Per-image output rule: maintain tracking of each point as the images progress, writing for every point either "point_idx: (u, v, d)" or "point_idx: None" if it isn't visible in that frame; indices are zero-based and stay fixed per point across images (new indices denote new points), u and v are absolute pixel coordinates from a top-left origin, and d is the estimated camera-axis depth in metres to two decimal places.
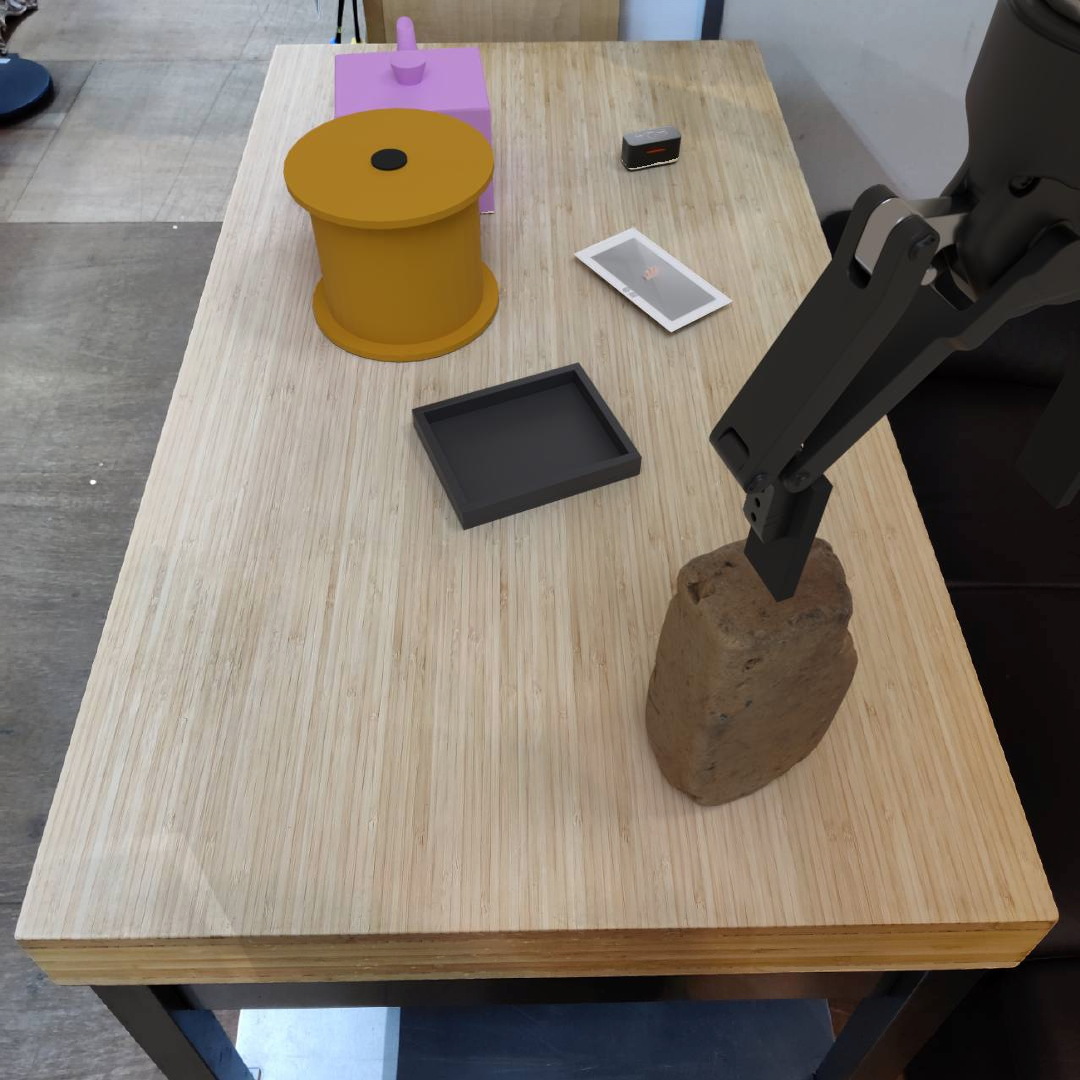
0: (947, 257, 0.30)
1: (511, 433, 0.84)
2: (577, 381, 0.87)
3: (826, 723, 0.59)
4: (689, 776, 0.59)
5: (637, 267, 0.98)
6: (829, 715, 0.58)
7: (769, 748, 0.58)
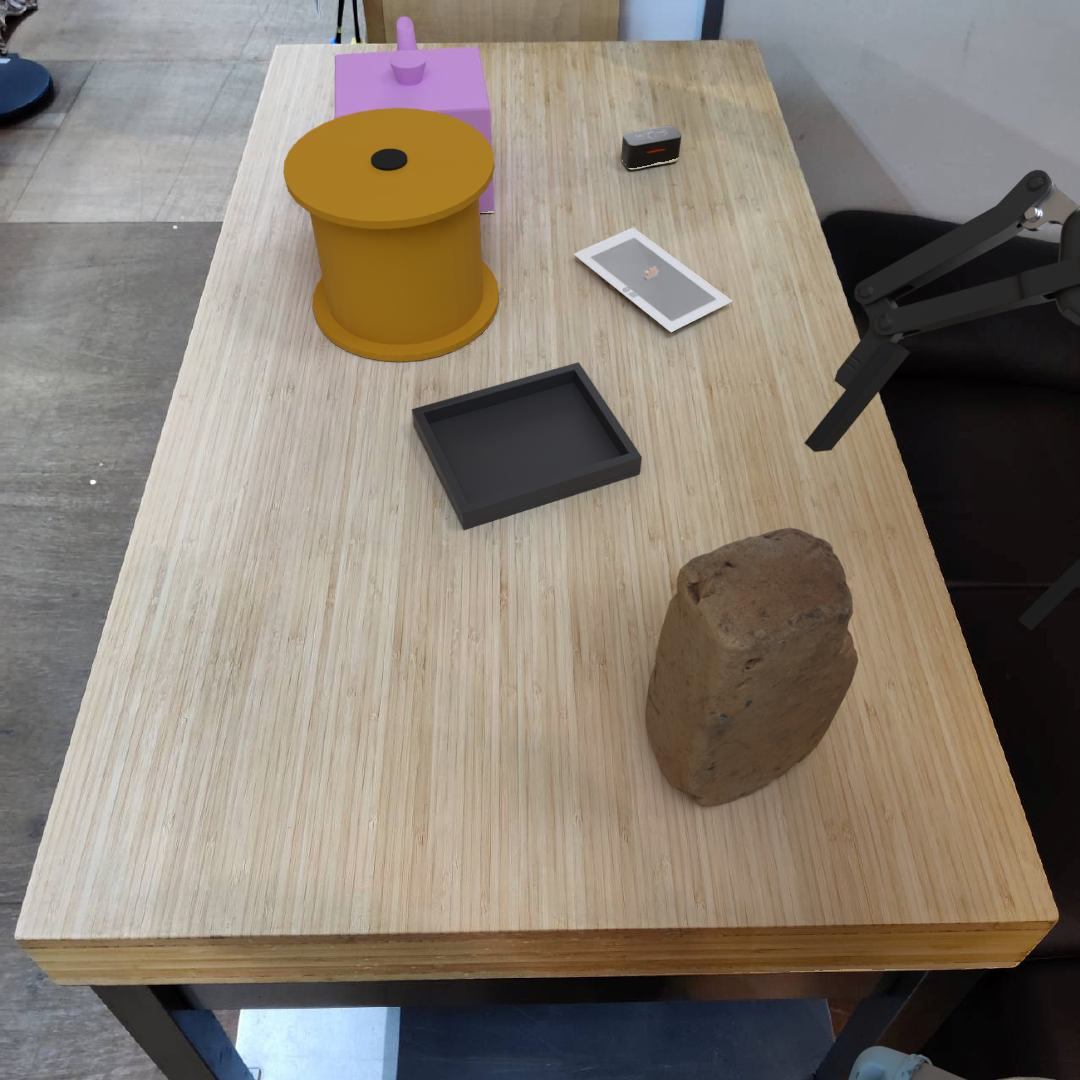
0: None
1: (511, 433, 0.84)
2: (577, 381, 0.87)
3: (826, 723, 0.59)
4: (689, 776, 0.59)
5: (637, 267, 0.98)
6: (829, 715, 0.58)
7: (769, 748, 0.58)
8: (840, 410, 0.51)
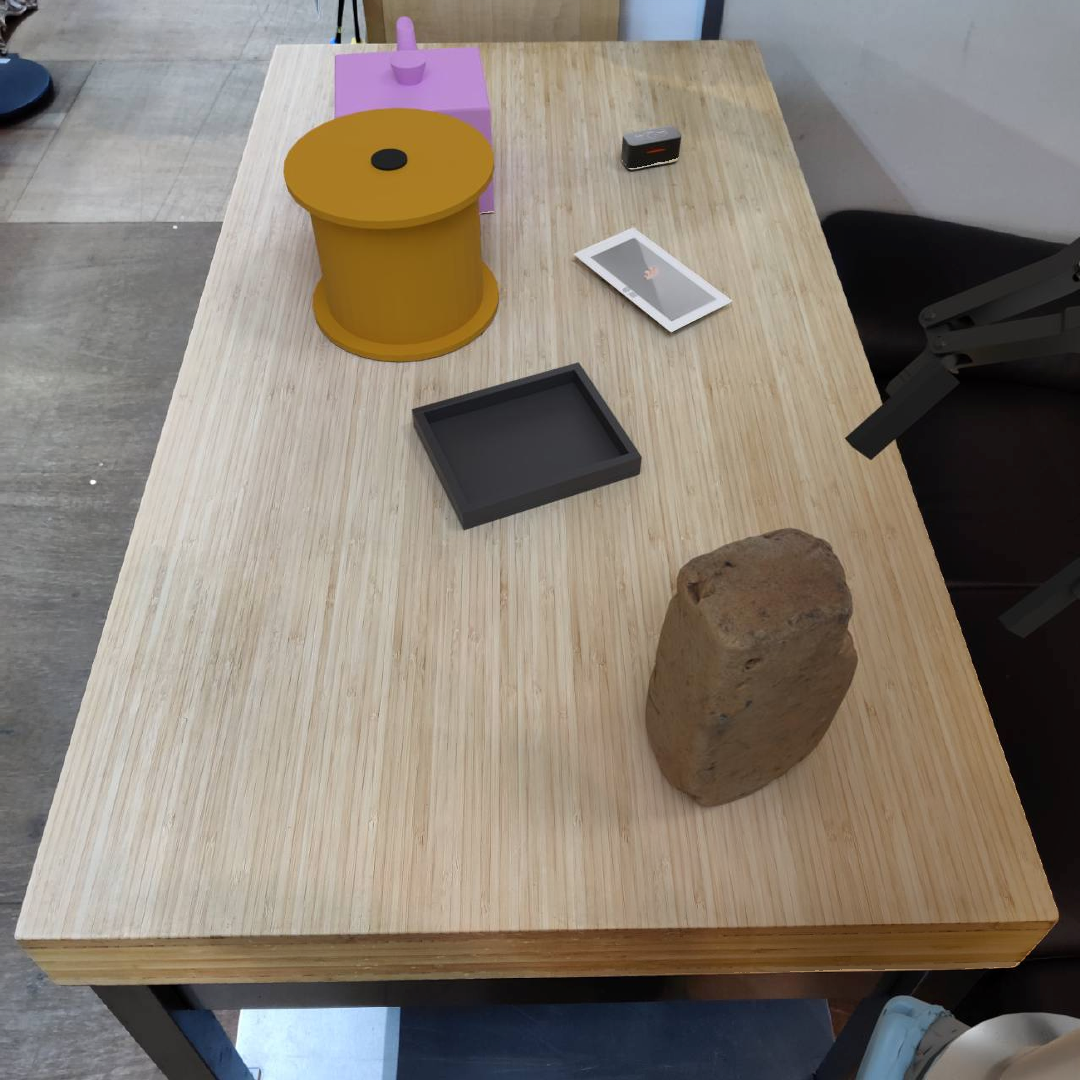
0: None
1: (511, 433, 0.84)
2: (577, 381, 0.87)
3: (826, 723, 0.59)
4: (689, 776, 0.59)
5: (637, 267, 0.98)
6: (829, 715, 0.58)
7: (769, 748, 0.58)
8: (883, 413, 0.56)
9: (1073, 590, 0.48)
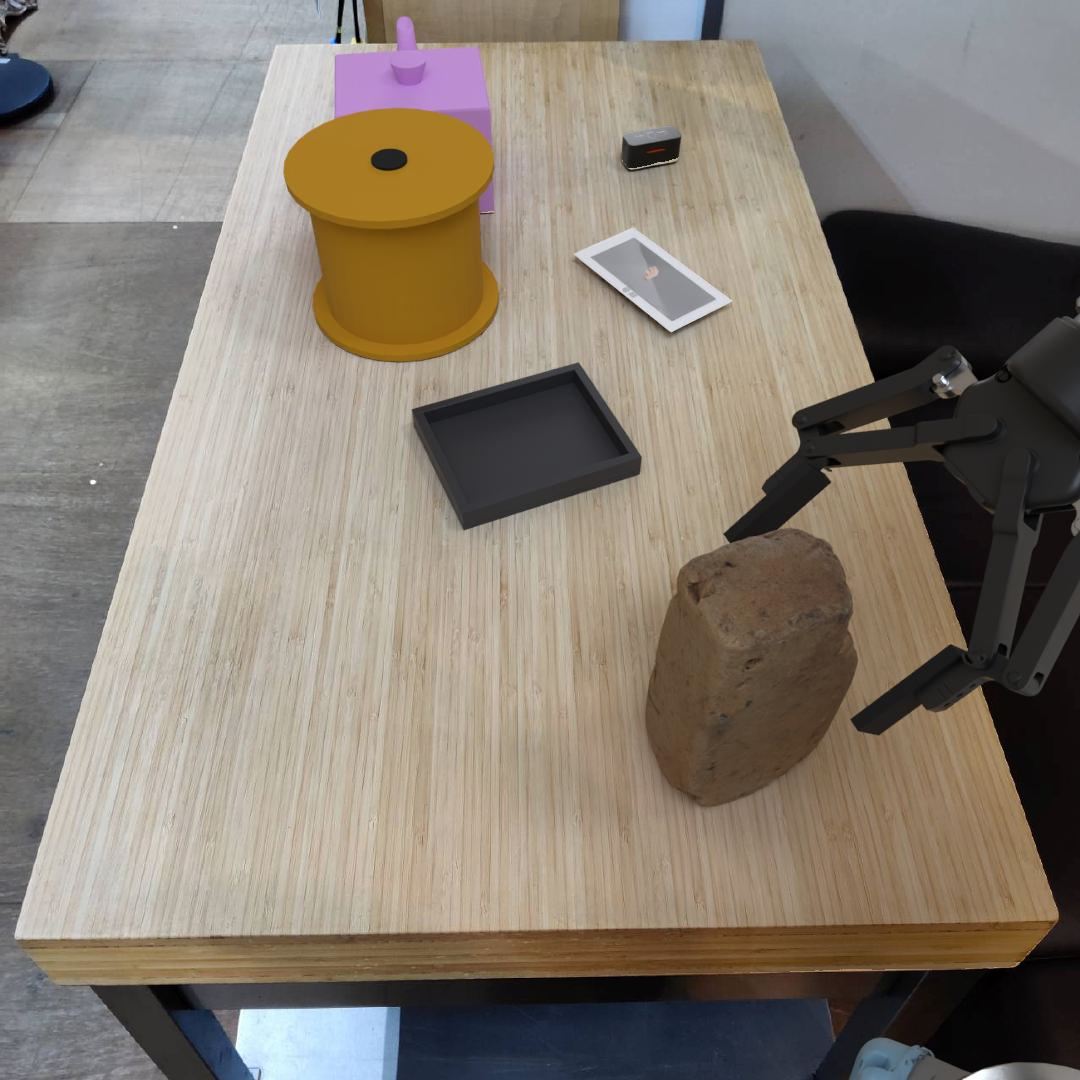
0: None
1: (511, 433, 0.84)
2: (577, 381, 0.87)
3: (826, 723, 0.59)
4: (689, 776, 0.59)
5: (637, 267, 0.98)
6: (829, 715, 0.58)
7: (769, 748, 0.58)
8: (757, 511, 0.58)
9: (918, 695, 0.50)
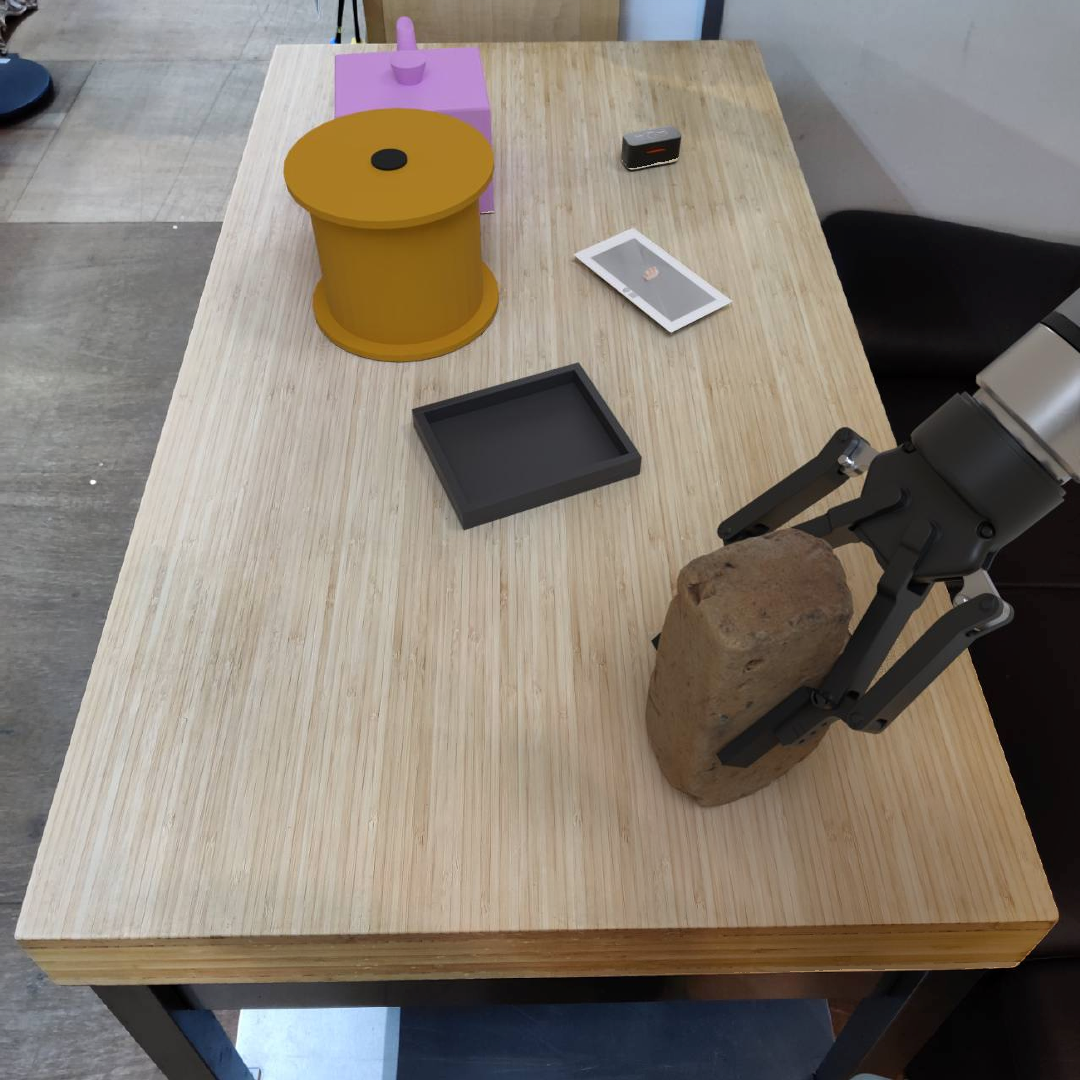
0: None
1: (511, 433, 0.84)
2: (577, 381, 0.87)
3: None
4: (690, 777, 0.59)
5: (637, 267, 0.98)
6: None
7: None
8: None
9: (776, 733, 0.54)
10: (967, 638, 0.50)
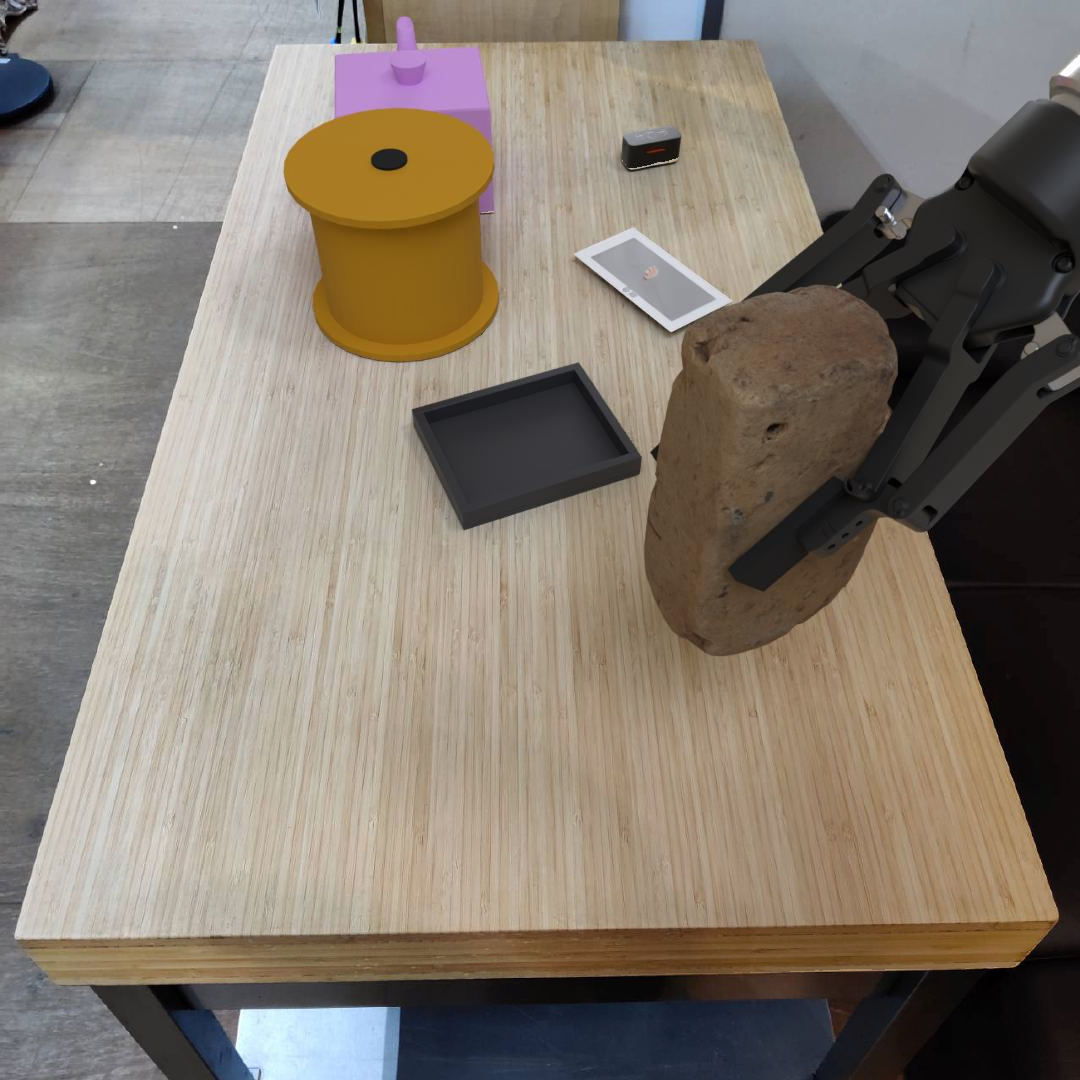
0: None
1: (511, 433, 0.84)
2: (577, 381, 0.87)
3: (859, 547, 0.50)
4: (696, 609, 0.50)
5: (637, 267, 0.98)
6: (863, 534, 0.49)
7: (791, 574, 0.49)
8: None
9: (800, 538, 0.45)
10: (1039, 400, 0.40)
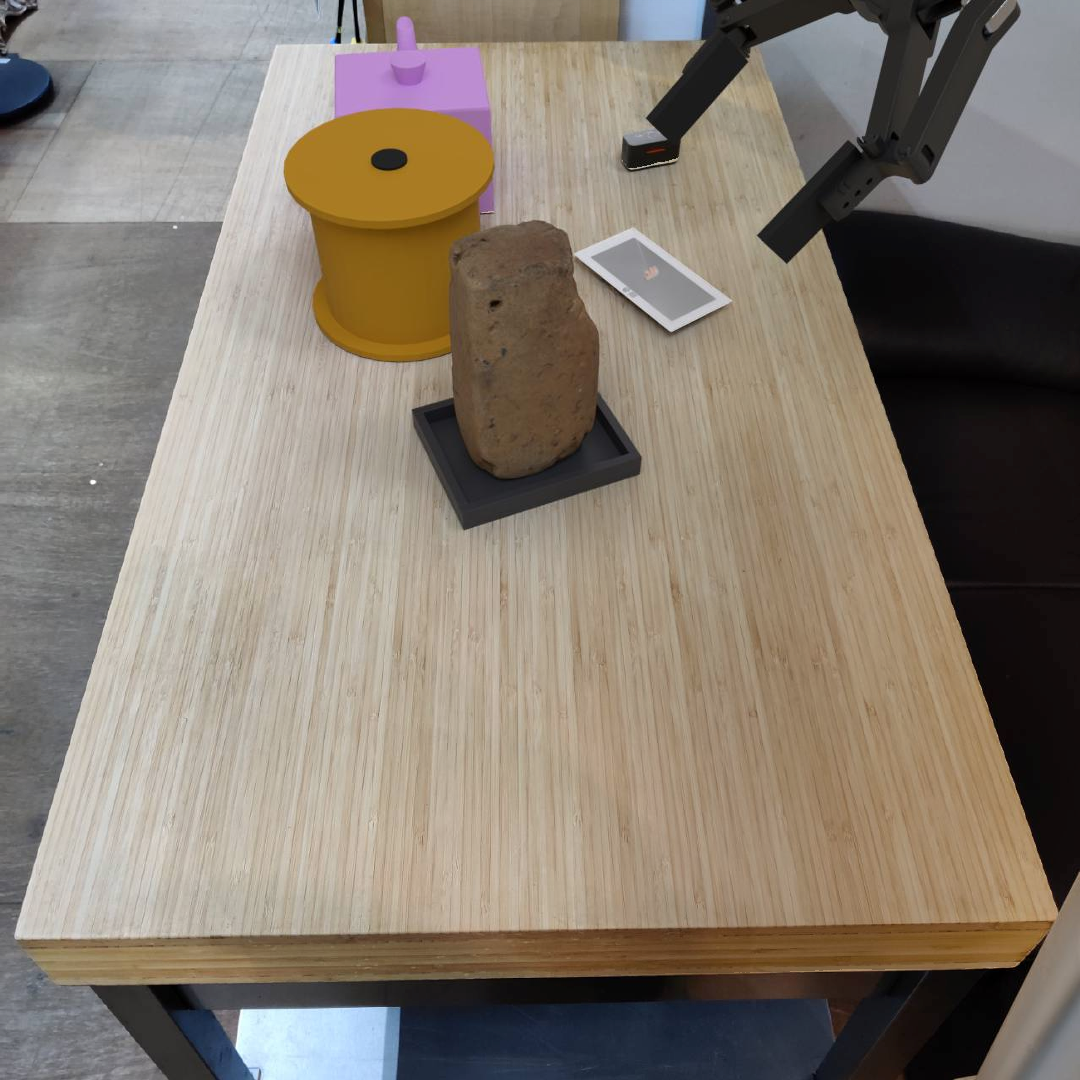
0: None
1: None
2: None
3: (585, 397, 0.76)
4: (478, 438, 0.76)
5: (637, 267, 0.98)
6: (585, 387, 0.75)
7: (538, 414, 0.75)
8: (676, 88, 0.61)
9: (819, 200, 0.53)
10: (985, 42, 0.50)
